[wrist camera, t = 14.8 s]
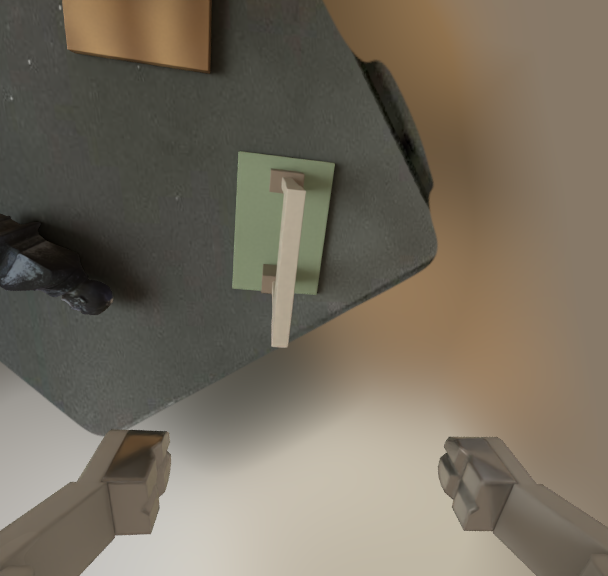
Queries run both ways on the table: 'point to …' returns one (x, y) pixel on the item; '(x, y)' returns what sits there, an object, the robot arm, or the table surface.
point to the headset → (285, 252)
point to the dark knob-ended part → (47, 268)
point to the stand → (142, 31)
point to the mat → (278, 219)
